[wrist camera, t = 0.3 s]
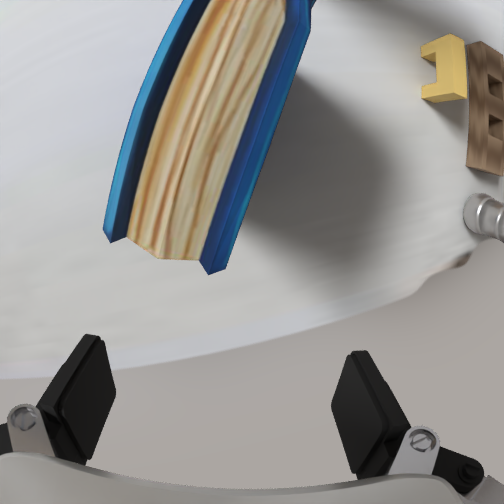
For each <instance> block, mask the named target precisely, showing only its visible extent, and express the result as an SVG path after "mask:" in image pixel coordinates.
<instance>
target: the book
mask: <svg viewBox="0 0 504 504" xmlns="http://www.w3.org/2000/svg"><path fill="white" fill-rule="evenodd" d="M315 2H316V0H183V1H182V3H181V5H180V7H179V8H178V10H177V12H176V14H175V16H174V18H173V19H172V21H171V23H170V25H169V27H168V29H167V31H166V33H165V35H164V37H163V39H162V41H161V43H160V45H159V47H158V50H157V52H156V54H155V56H154V58H153V60H152V63H151V65H150V67H149V69H148V72H147V74H146V77H145V79H144V81H143V84H142V86H141V89H140V91H139V94H138V96H137V99H136V101H135V104H134V107H133V110H132V113H131V116H130V119H129V122H128V125H127V129H126V132H125V135H124V139H123V142H122V146H121V150H120V153H119V157H118V161H117V165H116V169H115V173H114V177H113V181H112V185H111V190H110V194H109V199H108V204H107V209H106V214H105V219H104V225H103V231H104V233H105V234H106V236H107V238H108V240H109V242H110V243H112V242H115V241H117V240H120V239H122V238H125V237H127V238H128V239H130V240H131V241H133V242H134V243H136V244H137V245H138V246H140V247H141V248H143V249H144V250H146V251H147V252H149V253H150V254H151V255H153V256H154V257H156V258H157V259H174V260H199V261H200V263H201V265H202V266H203V268H204V269H205V271H206V272H207V274H208V275H210V274H213V273H216V272H219V271H221V270H224V269H226V266H227V263H228V260H229V257H230V255H231V252H232V249H233V246H234V243H235V240H236V238H237V235H238V232H239V229H240V226H241V224H242V221H243V218H244V215H245V212H246V210H247V207H248V204H249V201H250V199H251V196H252V193H253V190H254V188H255V185H256V182H257V179H258V177H259V174H260V171H261V168H262V166H263V163H264V160H265V158H266V155H267V152H268V150H269V147H270V144H271V141H272V138H273V135H274V132H275V129H276V127H277V124H278V121H279V118H280V115H281V112H282V109H283V107H284V104H285V101H286V98H287V95H288V92H289V90H290V87H291V84H292V81H293V78H294V76H295V73H296V70H297V67H298V64H299V62H300V59H301V56H302V53H303V51H304V48H305V45H306V42H307V40H308V37H309V34H310V31H311V9H312V7H313V5H314V3H315Z"/></svg>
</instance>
